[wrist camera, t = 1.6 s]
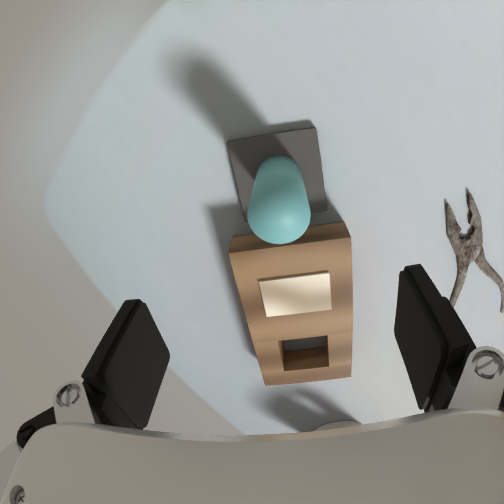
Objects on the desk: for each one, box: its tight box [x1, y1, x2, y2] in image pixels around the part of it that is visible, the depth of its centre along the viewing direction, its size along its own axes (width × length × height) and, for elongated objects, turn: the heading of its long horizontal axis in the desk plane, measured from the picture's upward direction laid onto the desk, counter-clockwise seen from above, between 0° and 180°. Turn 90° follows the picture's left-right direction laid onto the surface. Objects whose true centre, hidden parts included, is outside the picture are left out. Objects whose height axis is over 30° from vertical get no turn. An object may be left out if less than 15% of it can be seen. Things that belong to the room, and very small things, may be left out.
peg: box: [247, 155, 311, 244], centre depth 21 cm, size 4×4×8 cm
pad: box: [227, 127, 327, 222], centre depth 25 cm, size 7×7×1 cm
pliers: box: [446, 193, 504, 313], centre depth 29 cm, size 10×1×20 cm
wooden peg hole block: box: [228, 222, 353, 386], centre depth 30 cm, size 18×10×3 cm, turn 11°
